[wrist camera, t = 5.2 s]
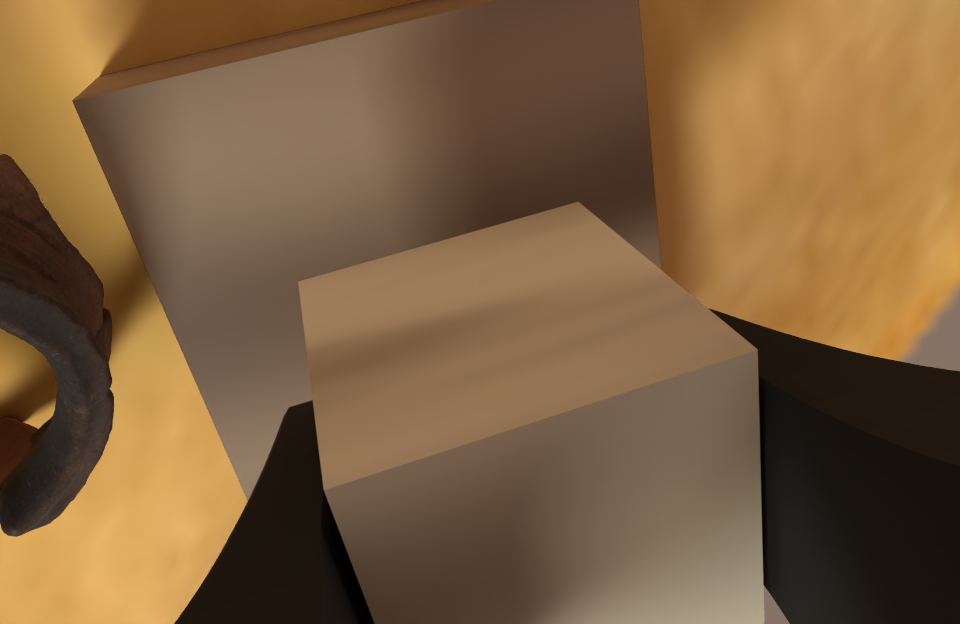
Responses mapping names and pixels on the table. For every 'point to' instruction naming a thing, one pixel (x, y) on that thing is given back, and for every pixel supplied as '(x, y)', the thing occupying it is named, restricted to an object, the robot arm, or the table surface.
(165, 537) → the table surface
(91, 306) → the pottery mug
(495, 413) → the maple cube
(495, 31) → the grey flat square block
